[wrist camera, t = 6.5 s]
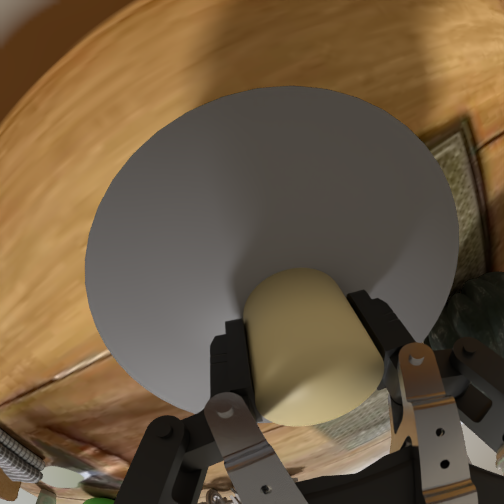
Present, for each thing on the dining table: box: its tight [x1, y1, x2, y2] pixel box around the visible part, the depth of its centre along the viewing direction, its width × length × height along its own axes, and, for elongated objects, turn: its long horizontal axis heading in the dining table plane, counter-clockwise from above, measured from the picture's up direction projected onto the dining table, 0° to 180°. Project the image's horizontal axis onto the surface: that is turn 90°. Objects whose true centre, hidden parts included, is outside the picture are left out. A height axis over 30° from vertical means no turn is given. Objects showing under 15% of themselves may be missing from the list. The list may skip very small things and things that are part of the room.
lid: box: [85, 86, 459, 426], centre depth 11 cm, size 18×18×6 cm
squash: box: [424, 272, 504, 400], centre depth 24 cm, size 14×15×15 cm
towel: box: [0, 429, 45, 483], centre depth 35 cm, size 15×18×8 cm
